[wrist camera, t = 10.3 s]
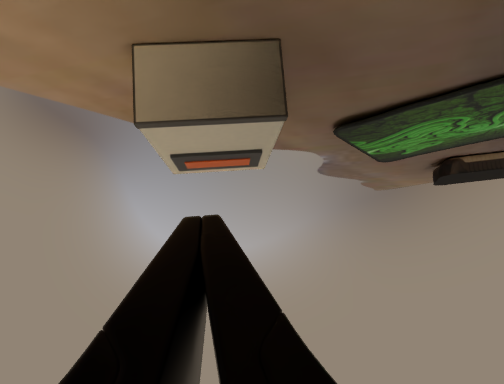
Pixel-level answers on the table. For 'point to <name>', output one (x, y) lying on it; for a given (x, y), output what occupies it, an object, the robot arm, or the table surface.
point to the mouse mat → (431, 124)
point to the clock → (210, 102)
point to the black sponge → (470, 169)
